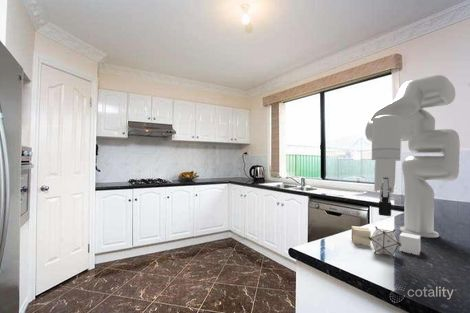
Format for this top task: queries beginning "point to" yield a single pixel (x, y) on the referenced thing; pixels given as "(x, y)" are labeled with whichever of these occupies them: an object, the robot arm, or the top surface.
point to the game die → (384, 241)
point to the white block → (410, 243)
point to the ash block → (361, 235)
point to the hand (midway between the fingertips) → (384, 215)
